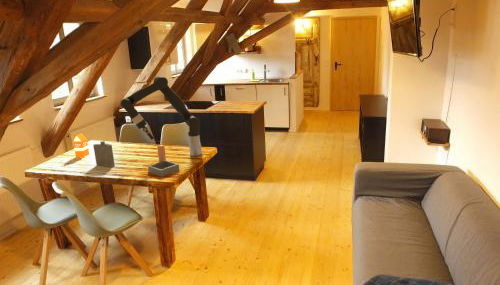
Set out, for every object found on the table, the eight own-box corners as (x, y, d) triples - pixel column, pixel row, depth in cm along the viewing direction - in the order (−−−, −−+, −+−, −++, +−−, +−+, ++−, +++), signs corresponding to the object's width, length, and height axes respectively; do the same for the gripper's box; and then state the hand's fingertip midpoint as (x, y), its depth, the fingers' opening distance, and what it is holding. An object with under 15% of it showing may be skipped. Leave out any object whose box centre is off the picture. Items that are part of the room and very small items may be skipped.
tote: (166, 166, 287) (165, 160, 286) (179, 170, 277) (178, 164, 275) (148, 172, 275) (147, 166, 274) (161, 176, 265) (160, 170, 264)
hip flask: (95, 165, 294) (91, 142, 289) (98, 164, 298) (95, 140, 293) (113, 166, 291) (109, 142, 285) (116, 165, 295) (112, 141, 289)
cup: (163, 162, 296) (161, 144, 292) (167, 163, 293) (165, 145, 289) (157, 164, 292) (155, 146, 288) (162, 165, 289) (160, 147, 285)
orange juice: (89, 154, 326) (85, 132, 320) (84, 157, 317) (80, 135, 312) (81, 154, 326) (77, 132, 321) (75, 157, 318) (71, 135, 312)
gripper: (143, 119, 271) (157, 136, 275) (143, 118, 284) (155, 134, 289) (135, 124, 269) (148, 142, 274) (135, 123, 283) (148, 140, 287)
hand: (152, 138), depth 281 cm, fingers open, 8 cm apart
